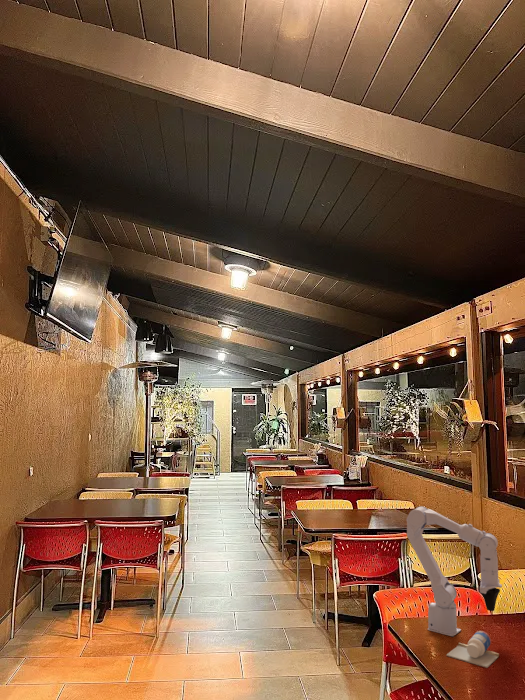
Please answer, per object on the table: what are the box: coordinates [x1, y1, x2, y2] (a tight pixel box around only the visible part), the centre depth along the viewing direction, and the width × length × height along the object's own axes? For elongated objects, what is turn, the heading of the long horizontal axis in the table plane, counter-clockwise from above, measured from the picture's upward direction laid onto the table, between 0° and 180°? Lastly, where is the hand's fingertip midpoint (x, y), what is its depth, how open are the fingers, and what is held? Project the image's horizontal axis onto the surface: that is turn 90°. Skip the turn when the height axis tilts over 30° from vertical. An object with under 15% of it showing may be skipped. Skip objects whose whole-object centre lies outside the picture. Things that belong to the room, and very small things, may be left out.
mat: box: [446, 644, 499, 669], centre depth 182 cm, size 13×10×1 cm
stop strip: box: [457, 642, 500, 658], centre depth 186 cm, size 13×1×1 cm, turn 49°
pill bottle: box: [467, 630, 492, 658], centre depth 183 cm, size 6×5×10 cm
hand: (490, 610), depth 197 cm, fingers closed
